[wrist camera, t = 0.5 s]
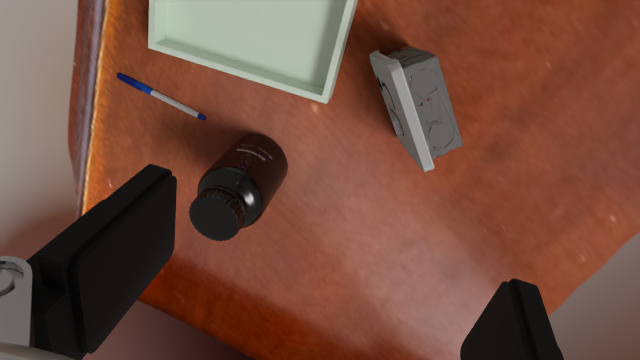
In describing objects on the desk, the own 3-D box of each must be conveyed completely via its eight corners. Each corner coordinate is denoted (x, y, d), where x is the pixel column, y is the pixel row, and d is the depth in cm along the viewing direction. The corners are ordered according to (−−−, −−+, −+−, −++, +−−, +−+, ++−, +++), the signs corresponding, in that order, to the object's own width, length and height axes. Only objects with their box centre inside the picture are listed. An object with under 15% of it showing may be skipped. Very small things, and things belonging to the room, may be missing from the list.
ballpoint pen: (119, 78, 45) (113, 81, 45) (120, 71, 45) (114, 73, 44) (206, 119, 46) (202, 123, 45) (207, 112, 45) (203, 116, 44)
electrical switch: (367, 51, 38) (365, 74, 30) (422, 29, 37) (435, 47, 29) (398, 140, 42) (404, 181, 34) (449, 123, 40) (468, 162, 32)
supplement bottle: (275, 126, 44) (232, 179, 34) (297, 180, 47) (263, 245, 36) (221, 140, 46) (165, 194, 36) (245, 191, 49) (199, 255, 39)
